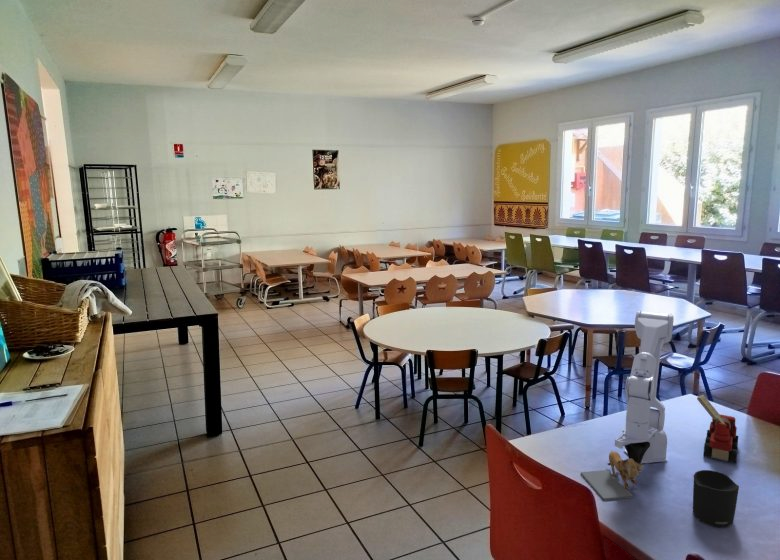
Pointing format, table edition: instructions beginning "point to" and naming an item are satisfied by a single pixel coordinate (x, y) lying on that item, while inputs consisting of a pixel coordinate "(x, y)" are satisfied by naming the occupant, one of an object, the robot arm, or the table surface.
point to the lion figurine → (624, 468)
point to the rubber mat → (606, 485)
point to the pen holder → (714, 498)
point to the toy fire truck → (720, 434)
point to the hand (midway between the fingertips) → (634, 465)
